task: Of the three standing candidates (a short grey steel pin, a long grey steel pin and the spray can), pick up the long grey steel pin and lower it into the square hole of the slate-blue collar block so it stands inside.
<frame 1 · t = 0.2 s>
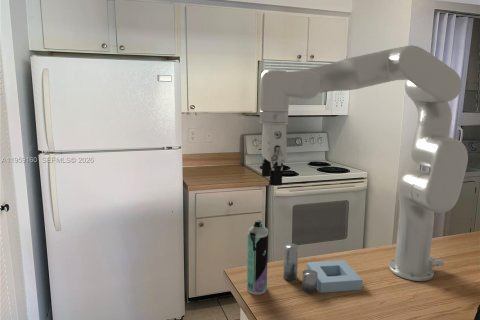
hand: (271, 180, 101), 30 cm above the counter, tool pointing down, fingers open, 9 cm apart
long pin: (290, 277, 109), on the counter
short pin: (309, 289, 102), on the counter
collar block: (332, 280, 107), on the counter
spray can: (256, 290, 102), on the counter
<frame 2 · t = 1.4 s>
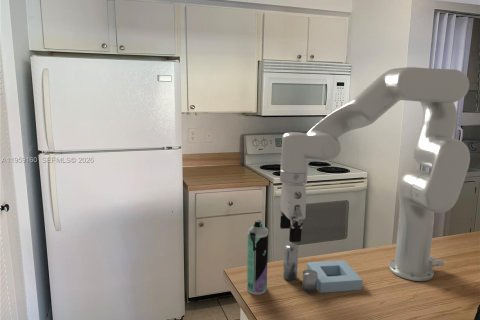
hand: (289, 234, 106), 14 cm above the counter, tool pointing down, fingers open, 9 cm apart
nothing on the counter moved.
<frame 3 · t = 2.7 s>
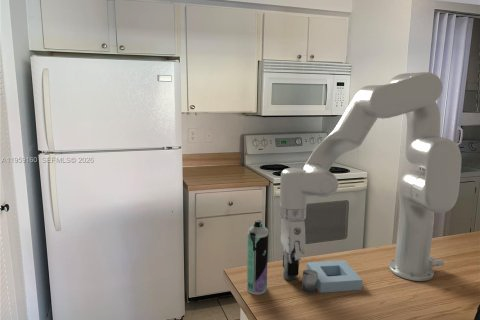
hand: (290, 270, 108), 2 cm above the counter, tool pointing down, fingers closed on long pin, 4 cm apart
long pin: (290, 277, 109), on the counter, touching gripper
everything else where it was.
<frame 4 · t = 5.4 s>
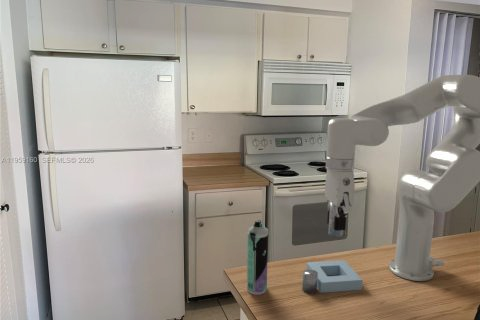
hand: (336, 226, 104), 17 cm above the counter, tool pointing down, fingers closed on long pin, 4 cm apart
long pin: (335, 233, 105), point 14 cm above the counter, touching gripper
everything else where it was.
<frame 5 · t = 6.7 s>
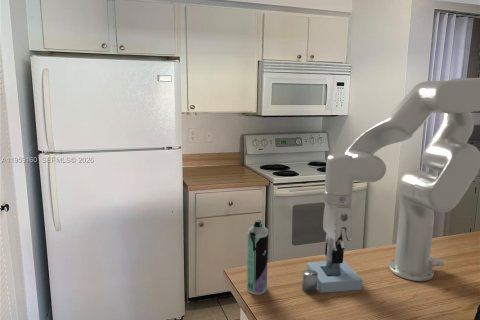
hand: (333, 258, 106), 7 cm above the counter, tool pointing down, fingers closed on long pin, 4 cm apart
long pin: (333, 265, 106), point 5 cm above the counter, touching gripper
everything else where it was.
when the fingers open (4 cm above the counter, at t = 7.6 s): long pin drops 1 cm, resting in collar block.
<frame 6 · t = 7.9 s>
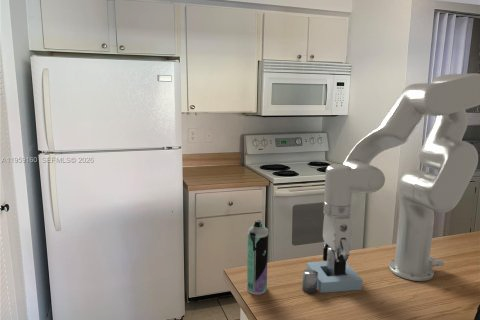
hand: (333, 266, 107), 4 cm above the counter, tool pointing down, fingers open, 7 cm apart
long pin: (333, 280, 107), resting in collar block
everything else where it was.
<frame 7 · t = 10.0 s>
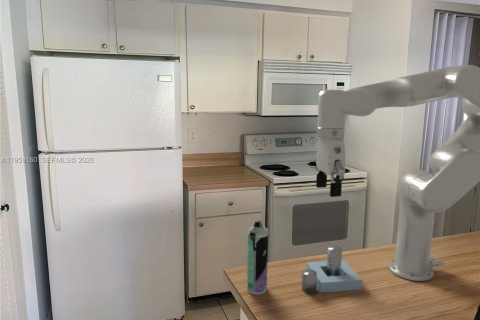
hand: (328, 191, 108), 25 cm above the counter, tool pointing down, fingers open, 9 cm apart
nothing on the counter moved.
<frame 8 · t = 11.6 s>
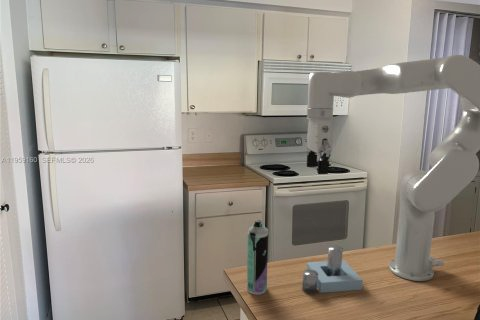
hand: (317, 170, 113), 30 cm above the counter, tool pointing down, fingers open, 9 cm apart
nothing on the counter moved.
at the end: long pin 0.1 cm off-centre on the collar block, point 0.0 cm above the collar block's base; long pin tilted 1°; the gripper is holding nothing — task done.
